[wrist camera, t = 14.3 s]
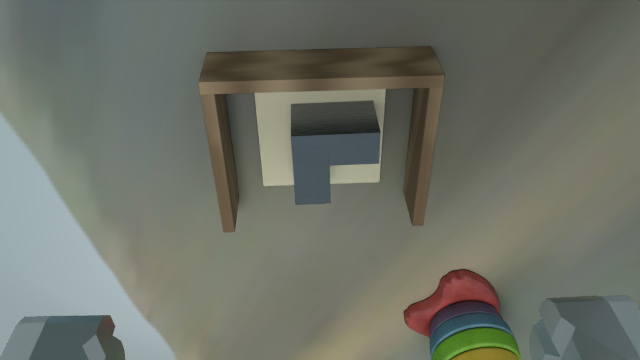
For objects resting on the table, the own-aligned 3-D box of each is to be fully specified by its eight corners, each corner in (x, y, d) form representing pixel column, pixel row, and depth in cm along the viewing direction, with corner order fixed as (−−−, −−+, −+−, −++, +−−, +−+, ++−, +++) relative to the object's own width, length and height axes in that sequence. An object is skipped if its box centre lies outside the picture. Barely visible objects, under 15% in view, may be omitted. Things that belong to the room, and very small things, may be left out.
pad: (386, 75, 45) (386, 77, 45) (378, 179, 52) (379, 182, 51) (253, 79, 45) (253, 81, 44) (263, 183, 51) (263, 186, 51)
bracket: (291, 103, 46) (290, 136, 42) (373, 100, 46) (380, 132, 42) (295, 169, 50) (295, 204, 46) (370, 166, 50) (377, 201, 46)
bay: (431, 46, 43) (444, 75, 40) (413, 190, 53) (423, 225, 49) (206, 52, 43) (198, 82, 39) (228, 196, 52) (223, 232, 48)
